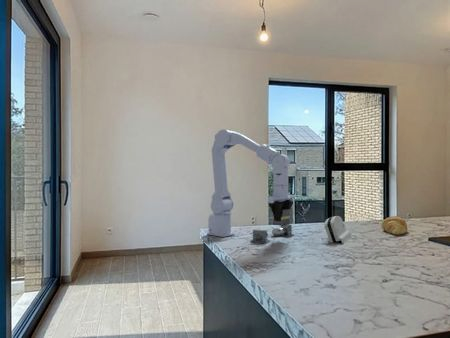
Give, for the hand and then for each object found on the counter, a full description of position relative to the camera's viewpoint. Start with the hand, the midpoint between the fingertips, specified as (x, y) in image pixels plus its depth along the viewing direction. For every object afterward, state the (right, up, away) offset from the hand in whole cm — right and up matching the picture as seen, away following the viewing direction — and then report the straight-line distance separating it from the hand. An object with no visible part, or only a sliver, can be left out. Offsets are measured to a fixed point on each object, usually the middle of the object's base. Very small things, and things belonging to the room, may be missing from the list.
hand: (281, 220), depth 140 cm
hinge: (+23, -8, +2) cm, 24 cm away
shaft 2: (+2, -8, +10) cm, 13 cm away
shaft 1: (-7, -8, 0) cm, 11 cm away
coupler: (0, -2, 0) cm, 2 cm away
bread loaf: (+52, -8, +16) cm, 55 cm away
